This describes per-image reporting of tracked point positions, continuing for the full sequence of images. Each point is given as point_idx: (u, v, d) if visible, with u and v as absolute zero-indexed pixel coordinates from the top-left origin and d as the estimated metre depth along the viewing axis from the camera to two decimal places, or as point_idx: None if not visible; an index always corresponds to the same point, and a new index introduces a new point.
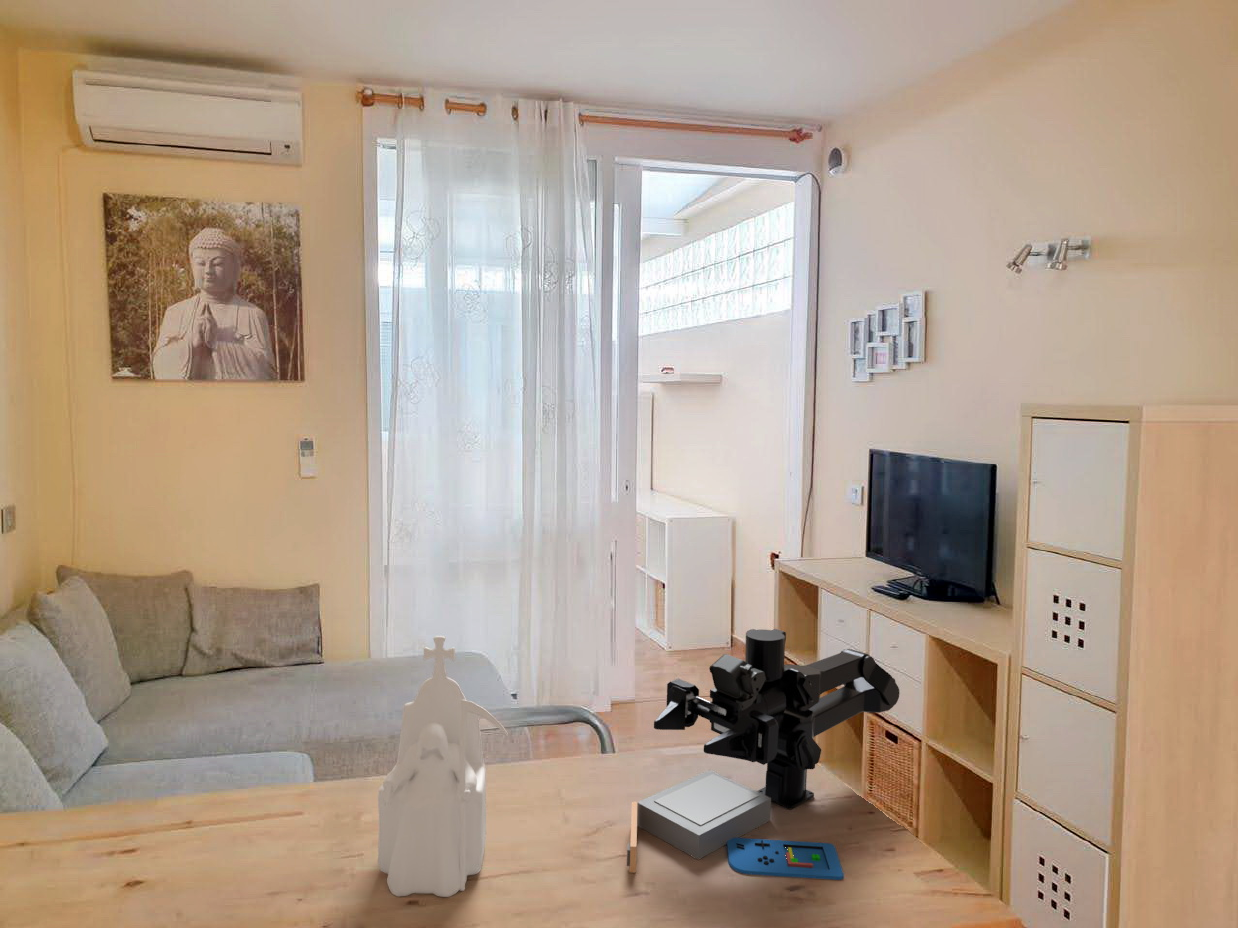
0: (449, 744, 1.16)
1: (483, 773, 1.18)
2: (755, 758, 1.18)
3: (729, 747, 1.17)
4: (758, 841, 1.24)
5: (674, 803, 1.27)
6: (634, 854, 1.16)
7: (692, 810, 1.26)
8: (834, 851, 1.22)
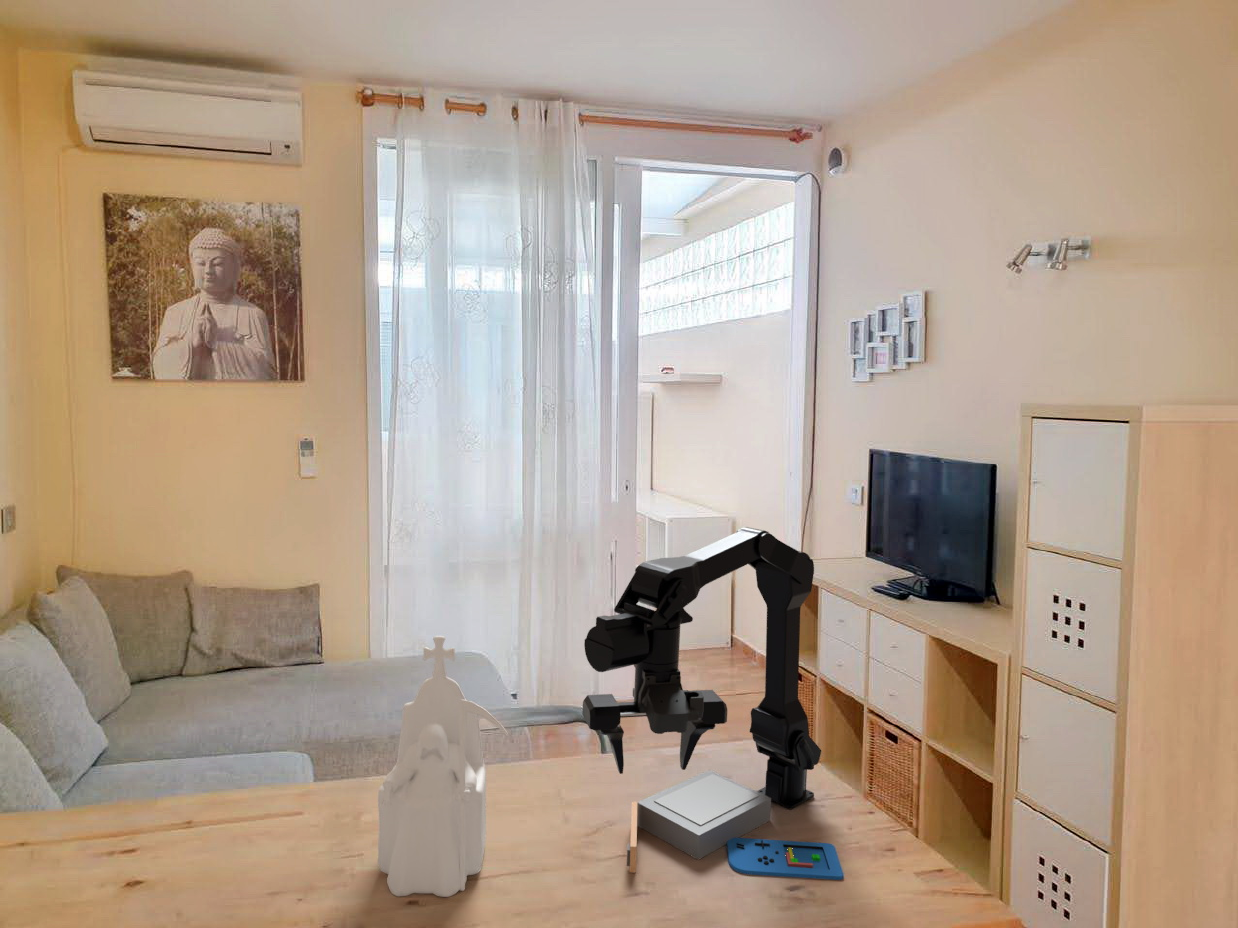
0: (449, 744, 1.16)
1: (483, 773, 1.18)
2: None
3: None
4: (758, 841, 1.24)
5: (674, 803, 1.27)
6: (634, 854, 1.16)
7: (692, 810, 1.26)
8: (834, 851, 1.22)
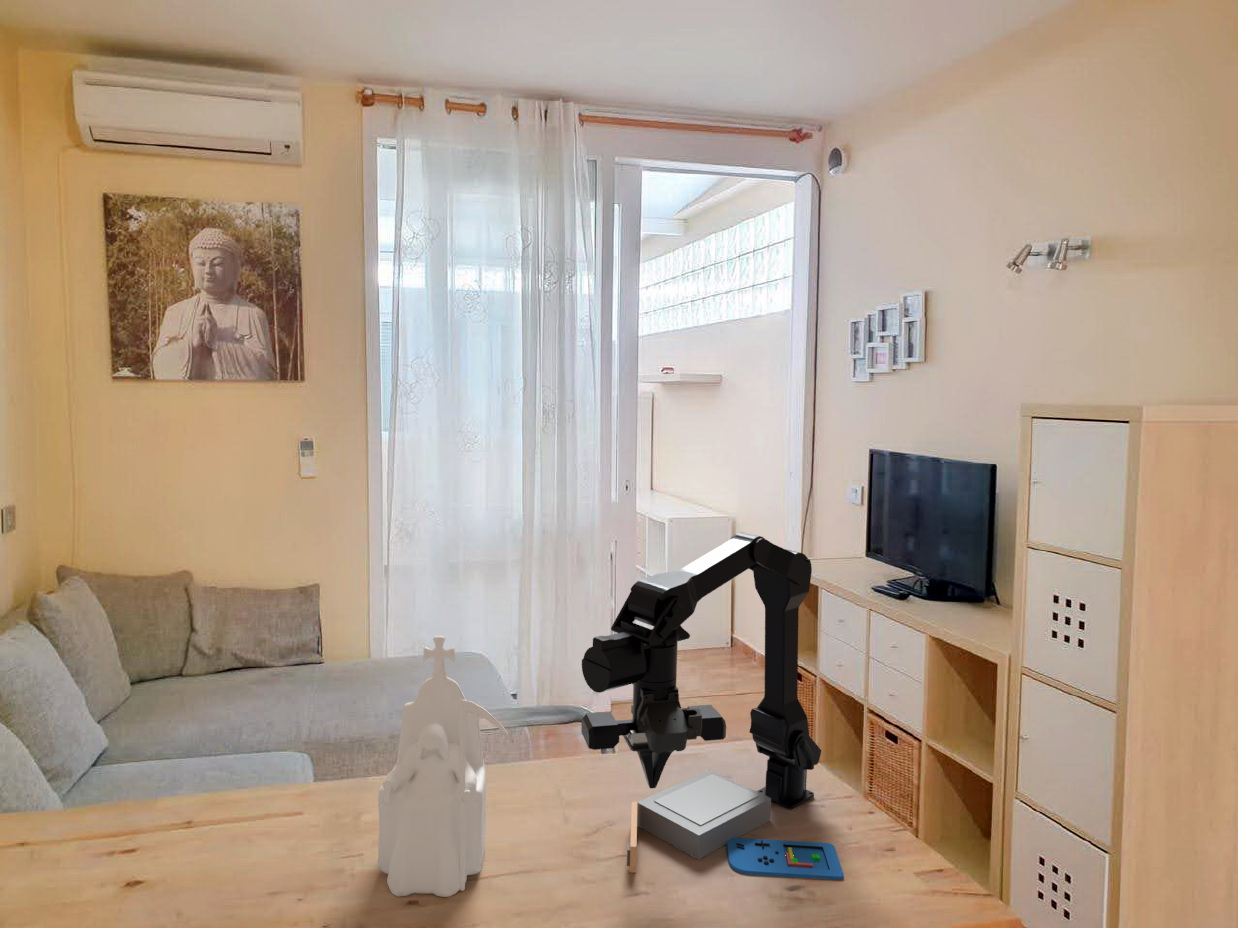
0: (449, 744, 1.16)
1: (483, 773, 1.18)
2: None
3: None
4: (758, 841, 1.24)
5: (674, 803, 1.27)
6: (634, 854, 1.16)
7: (692, 810, 1.26)
8: (834, 851, 1.22)
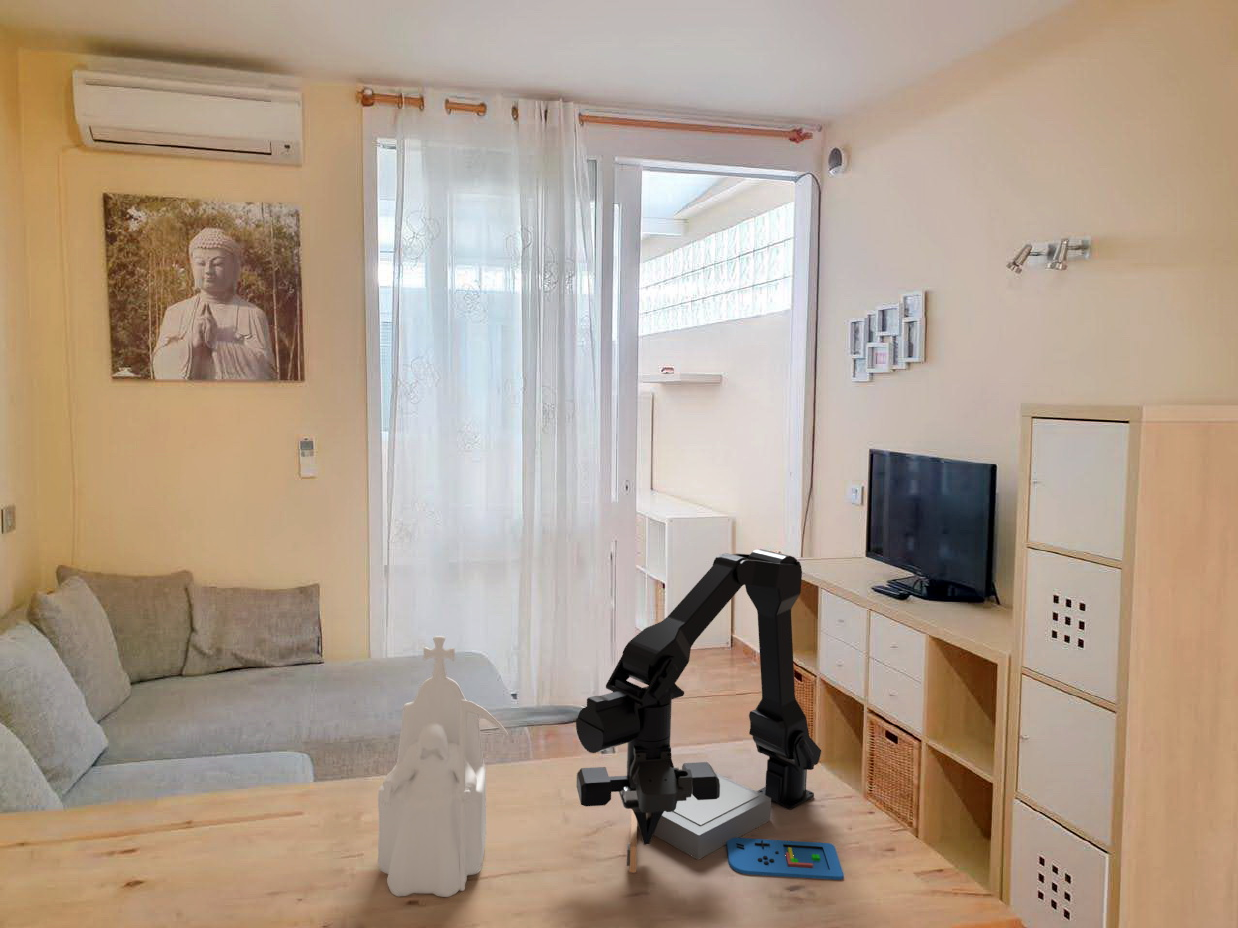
0: (449, 744, 1.16)
1: (483, 773, 1.18)
2: None
3: None
4: (758, 841, 1.24)
5: None
6: (634, 854, 1.16)
7: (692, 810, 1.26)
8: (834, 851, 1.22)
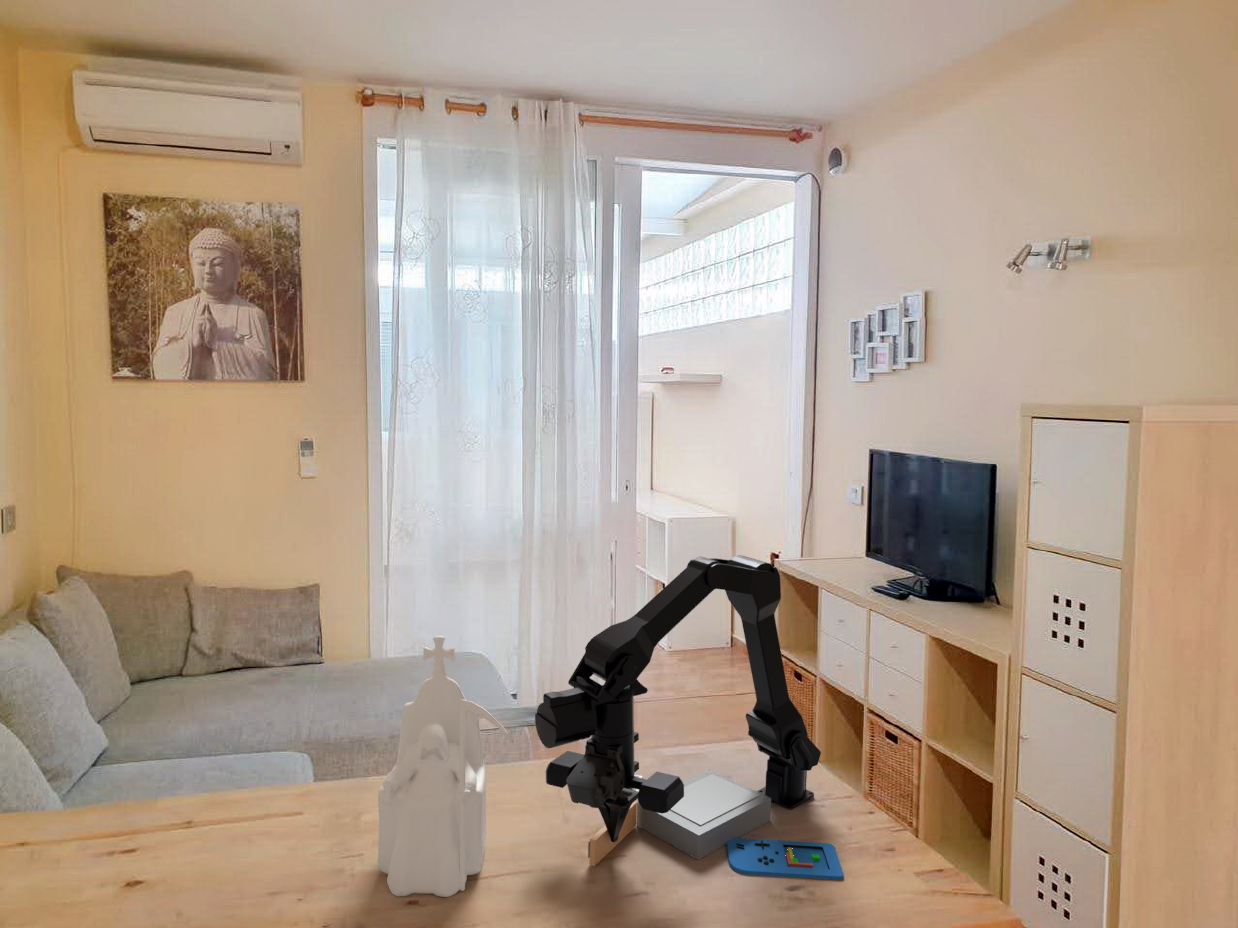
0: (449, 744, 1.16)
1: (483, 773, 1.18)
2: None
3: (623, 814, 1.19)
4: (758, 841, 1.24)
5: None
6: (593, 847, 1.17)
7: (692, 810, 1.26)
8: (834, 851, 1.22)
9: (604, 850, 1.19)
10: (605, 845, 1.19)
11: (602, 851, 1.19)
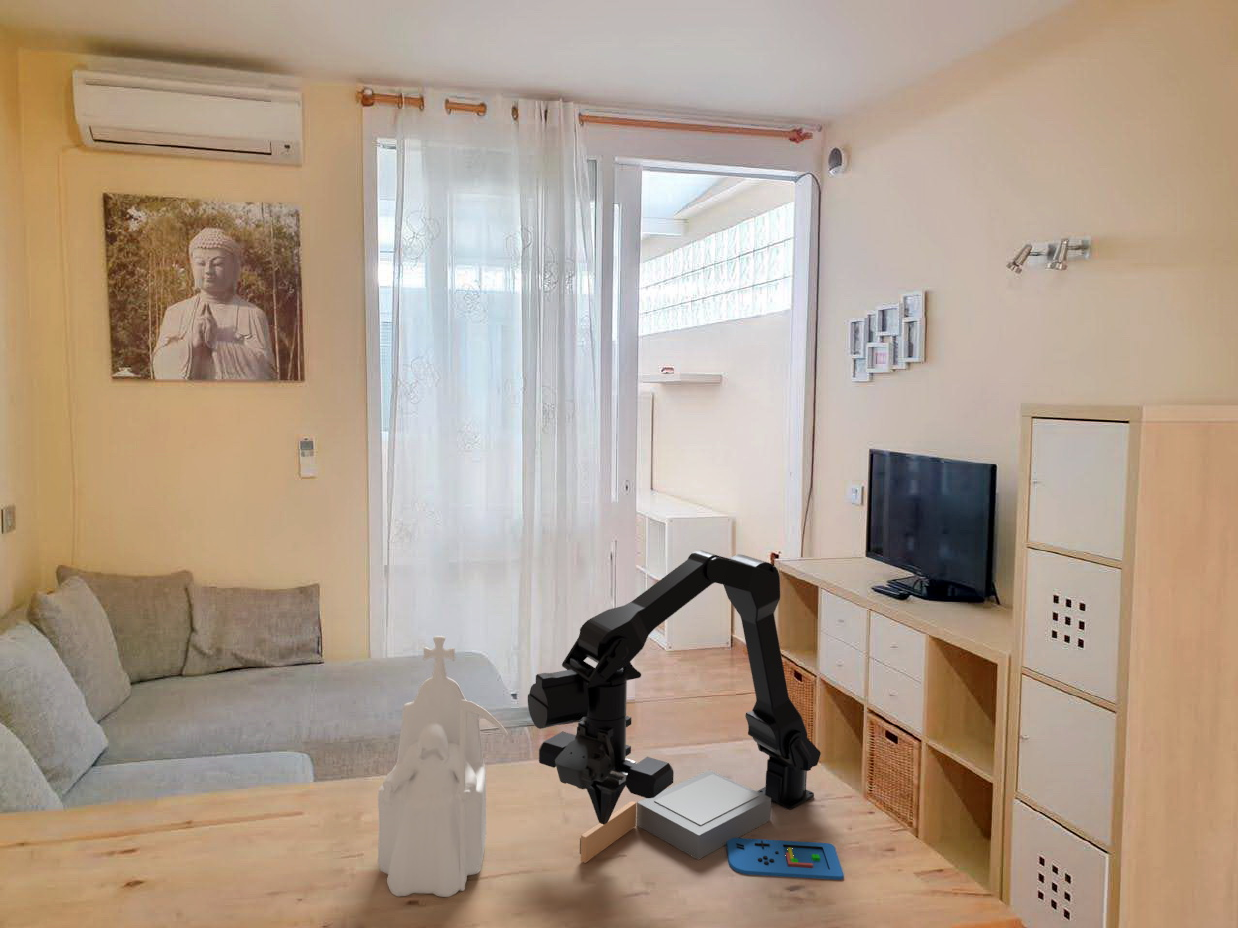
0: (449, 744, 1.16)
1: (483, 773, 1.18)
2: None
3: (614, 798, 1.20)
4: (758, 841, 1.24)
5: (674, 803, 1.27)
6: (584, 844, 1.18)
7: (692, 810, 1.26)
8: (834, 851, 1.22)
9: (597, 848, 1.20)
10: (597, 842, 1.20)
11: (594, 848, 1.19)
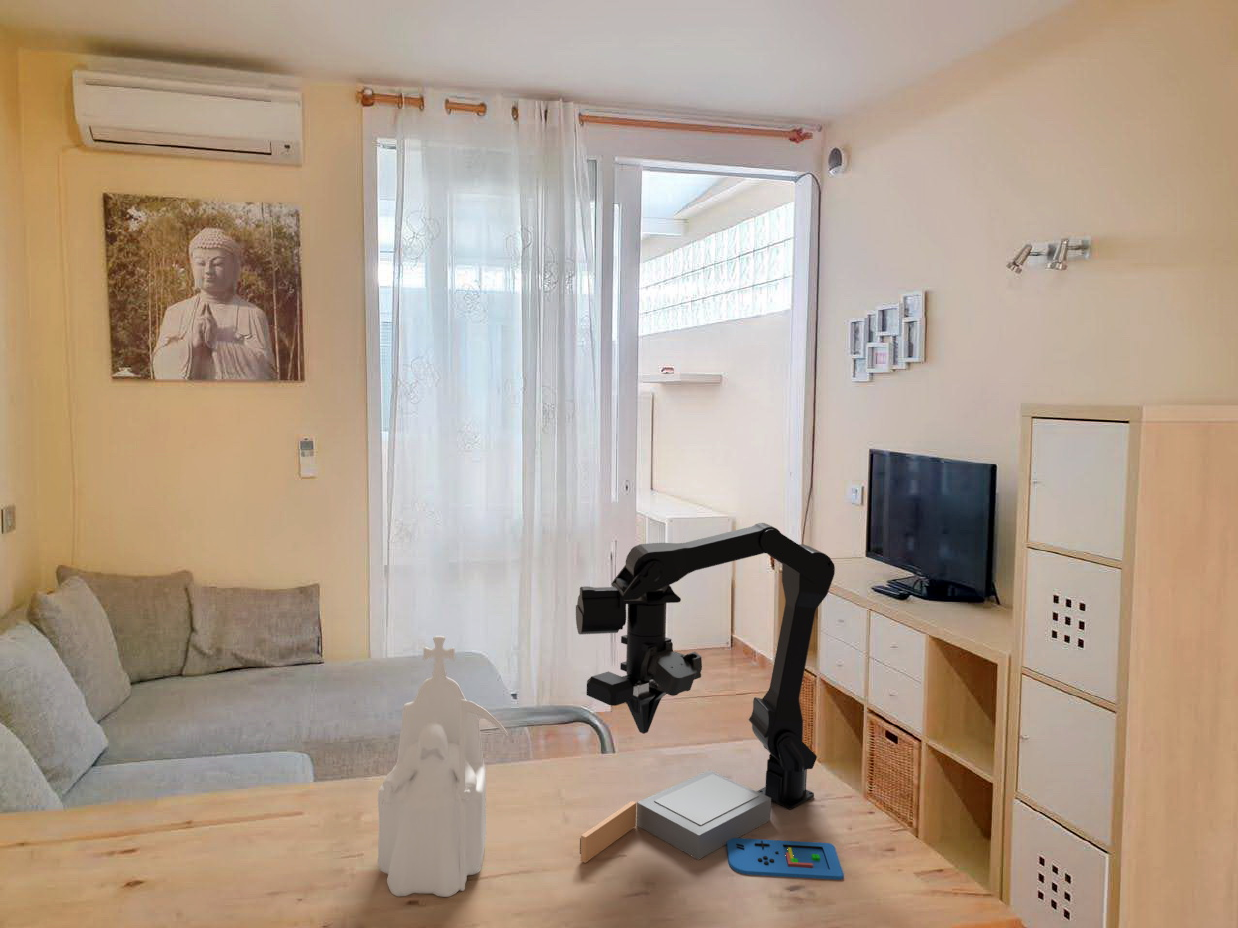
0: (449, 744, 1.16)
1: (483, 773, 1.18)
2: None
3: None
4: (758, 841, 1.24)
5: (674, 803, 1.27)
6: (584, 844, 1.18)
7: (692, 810, 1.26)
8: (834, 851, 1.22)
9: (597, 848, 1.20)
10: (597, 842, 1.20)
11: (594, 848, 1.19)
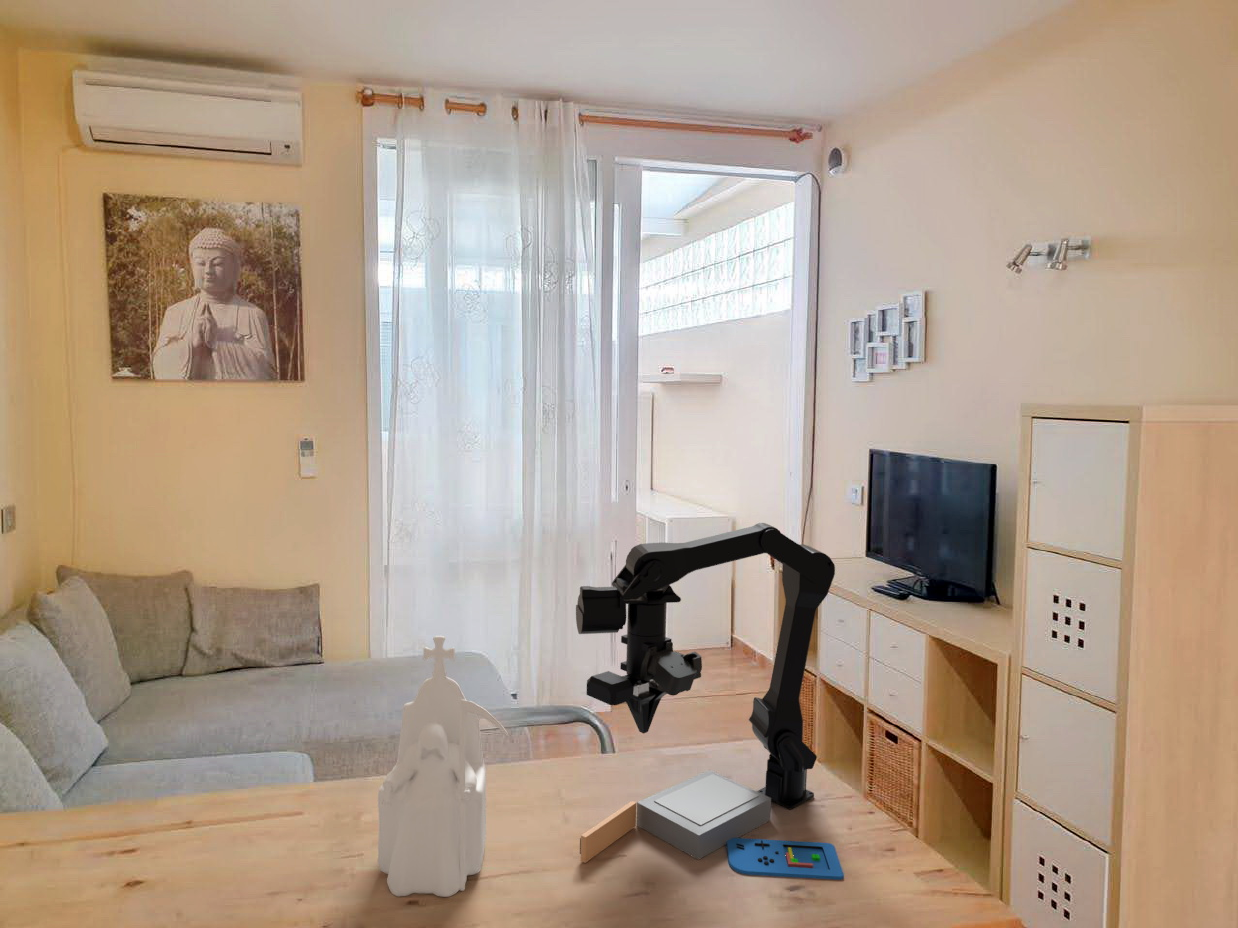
0: (449, 744, 1.16)
1: (483, 773, 1.18)
2: None
3: None
4: (758, 841, 1.24)
5: (674, 803, 1.27)
6: (584, 844, 1.18)
7: (692, 810, 1.26)
8: (834, 851, 1.22)
9: (597, 848, 1.20)
10: (597, 842, 1.20)
11: (594, 848, 1.19)
